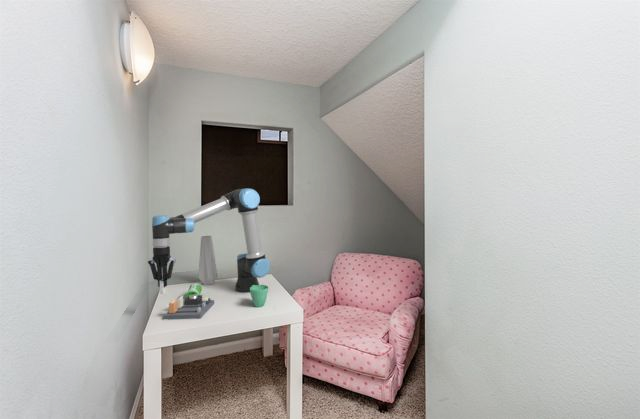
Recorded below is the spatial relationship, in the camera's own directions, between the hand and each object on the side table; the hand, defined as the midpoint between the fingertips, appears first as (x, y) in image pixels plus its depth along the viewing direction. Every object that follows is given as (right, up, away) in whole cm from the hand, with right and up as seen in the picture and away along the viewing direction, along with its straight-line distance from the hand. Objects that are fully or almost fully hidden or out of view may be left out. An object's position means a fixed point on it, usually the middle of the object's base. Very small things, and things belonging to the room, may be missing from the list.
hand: (162, 293), depth 155 cm
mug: (+45, -11, +15) cm, 48 cm away
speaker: (+5, -11, +27) cm, 30 cm away
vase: (+2, -10, +59) cm, 60 cm away
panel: (+11, -12, +7) cm, 18 cm away
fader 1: (+5, -10, +1) cm, 11 cm away
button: (+10, -9, +14) cm, 19 cm away
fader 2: (+5, -9, +8) cm, 13 cm away
